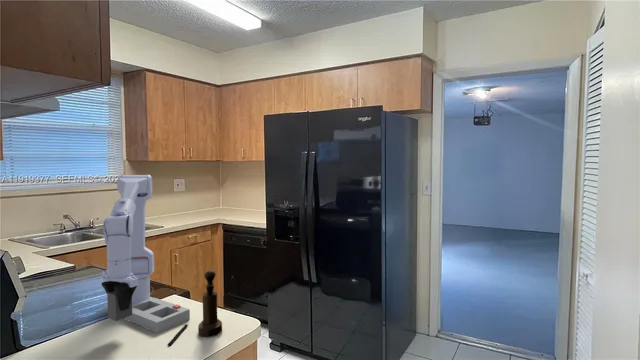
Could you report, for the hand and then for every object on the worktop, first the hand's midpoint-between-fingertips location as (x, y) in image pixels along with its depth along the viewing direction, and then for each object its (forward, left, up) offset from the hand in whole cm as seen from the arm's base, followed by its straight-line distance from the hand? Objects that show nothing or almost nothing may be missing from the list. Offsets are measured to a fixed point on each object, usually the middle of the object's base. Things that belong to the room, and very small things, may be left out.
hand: (120, 307), depth 99 cm
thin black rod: (+13, +9, -9) cm, 18 cm away
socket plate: (-2, +12, -8) cm, 14 cm away
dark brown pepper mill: (+19, +15, -8) cm, 26 cm away
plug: (0, 0, -3) cm, 2 cm away
